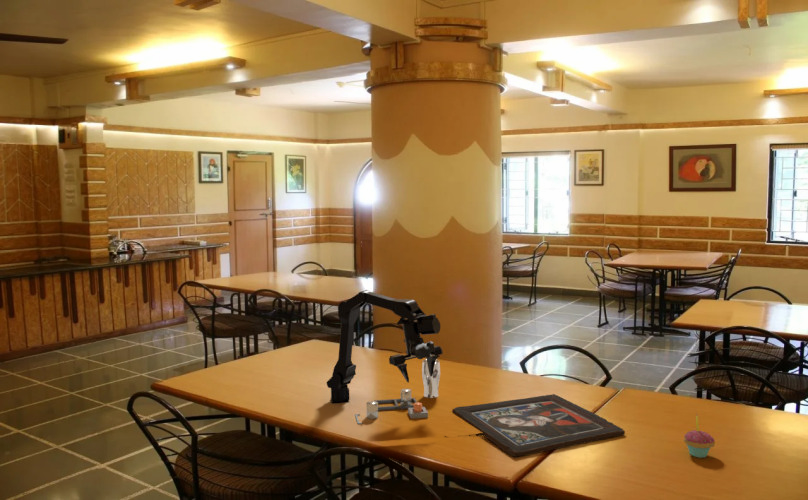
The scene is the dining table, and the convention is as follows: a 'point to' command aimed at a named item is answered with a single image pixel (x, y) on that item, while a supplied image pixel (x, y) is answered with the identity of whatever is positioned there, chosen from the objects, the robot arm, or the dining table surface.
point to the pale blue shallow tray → (357, 419)
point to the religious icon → (537, 424)
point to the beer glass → (431, 379)
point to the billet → (372, 410)
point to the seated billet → (406, 397)
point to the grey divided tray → (395, 404)
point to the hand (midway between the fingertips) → (419, 379)
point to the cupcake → (698, 442)
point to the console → (418, 413)
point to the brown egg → (417, 407)
